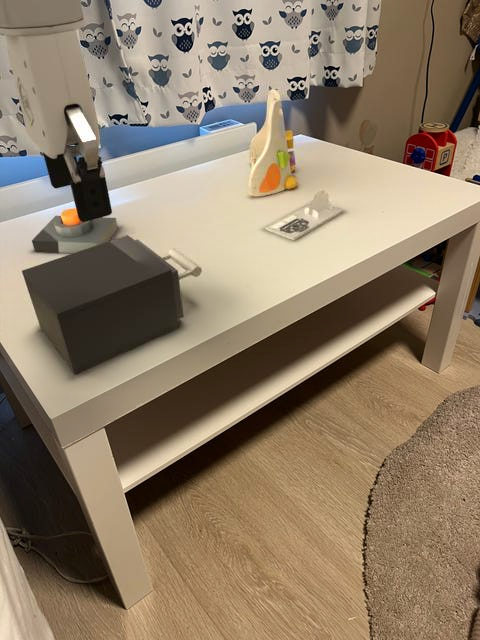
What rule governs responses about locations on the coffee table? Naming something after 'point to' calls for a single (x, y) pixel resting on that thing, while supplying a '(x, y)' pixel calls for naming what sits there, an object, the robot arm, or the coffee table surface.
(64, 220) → the button
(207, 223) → the coffee table surface
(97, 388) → the coffee table surface
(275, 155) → the shape sorter
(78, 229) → the control block
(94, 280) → the drawer box
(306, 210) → the white stand base
